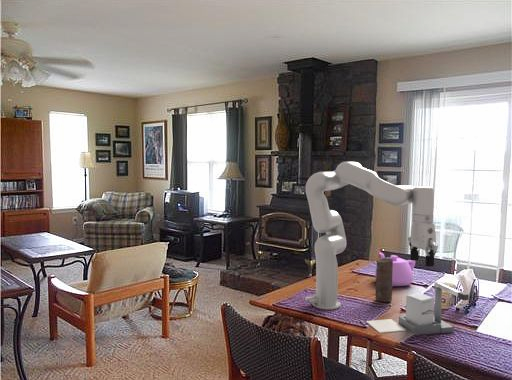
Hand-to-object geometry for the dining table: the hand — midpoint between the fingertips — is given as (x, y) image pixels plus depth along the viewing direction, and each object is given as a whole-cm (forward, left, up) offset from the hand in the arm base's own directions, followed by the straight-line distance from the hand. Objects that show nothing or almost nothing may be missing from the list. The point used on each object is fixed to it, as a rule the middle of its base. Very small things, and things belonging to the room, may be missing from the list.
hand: (421, 263), depth 156 cm
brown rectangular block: (+2, +31, -26) cm, 41 cm away
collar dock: (+2, 0, -26) cm, 26 cm away
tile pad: (-12, +4, -26) cm, 29 cm away
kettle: (+21, +56, -26) cm, 65 cm away
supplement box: (0, 0, -26) cm, 26 cm away
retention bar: (+8, -6, -10) cm, 14 cm away
